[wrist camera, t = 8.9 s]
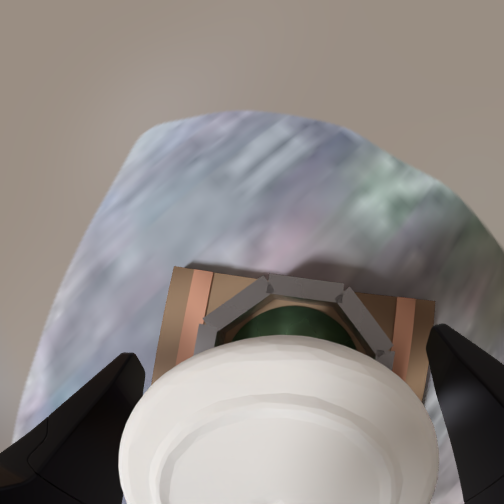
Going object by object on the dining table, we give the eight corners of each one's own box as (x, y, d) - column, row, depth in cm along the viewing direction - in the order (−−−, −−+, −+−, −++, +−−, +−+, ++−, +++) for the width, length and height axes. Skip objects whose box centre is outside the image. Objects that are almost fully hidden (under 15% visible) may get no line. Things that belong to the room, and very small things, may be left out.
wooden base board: (392, 482, 13) (396, 489, 12) (150, 442, 16) (142, 447, 15) (428, 303, 16) (435, 300, 15) (179, 270, 19) (173, 265, 18)
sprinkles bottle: (243, 347, 16) (76, 360, 3) (324, 328, 16) (423, 287, 3) (260, 424, 15) (161, 595, 2) (341, 406, 14) (444, 559, 2)
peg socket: (359, 462, 13) (366, 475, 11) (191, 435, 15) (178, 444, 13) (390, 296, 16) (401, 290, 14) (220, 273, 18) (210, 265, 16)
